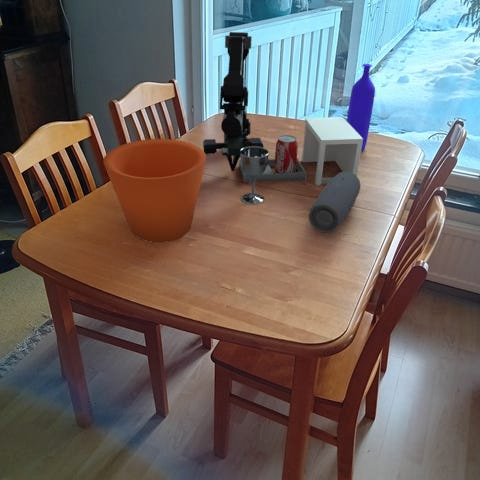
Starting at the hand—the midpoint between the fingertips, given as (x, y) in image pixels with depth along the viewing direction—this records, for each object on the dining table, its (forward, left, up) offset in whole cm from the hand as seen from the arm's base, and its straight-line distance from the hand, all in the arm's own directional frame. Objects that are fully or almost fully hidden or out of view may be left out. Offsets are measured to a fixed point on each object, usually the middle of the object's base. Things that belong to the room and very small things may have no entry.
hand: (232, 170), depth 155 cm
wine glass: (+4, -17, -2) cm, 18 cm away
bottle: (+48, +19, -2) cm, 52 cm away
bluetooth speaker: (+25, -30, -2) cm, 39 cm away
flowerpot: (-23, -30, -2) cm, 38 cm away
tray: (+13, 0, -2) cm, 13 cm away
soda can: (+17, 0, -2) cm, 18 cm away
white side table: (+32, 0, -2) cm, 32 cm away
